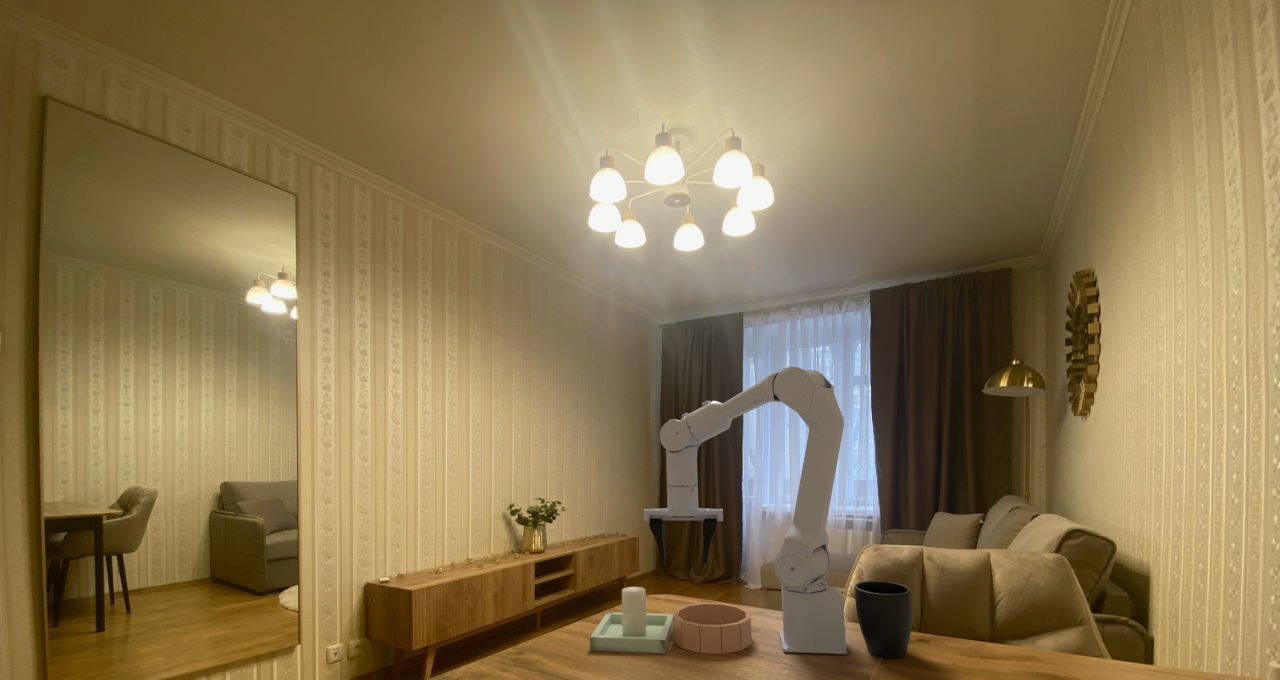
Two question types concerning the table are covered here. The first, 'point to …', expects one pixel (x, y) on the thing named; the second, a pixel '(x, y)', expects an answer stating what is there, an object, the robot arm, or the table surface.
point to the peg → (634, 611)
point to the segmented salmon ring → (712, 628)
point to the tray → (613, 640)
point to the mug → (884, 617)
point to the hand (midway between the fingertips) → (684, 561)
